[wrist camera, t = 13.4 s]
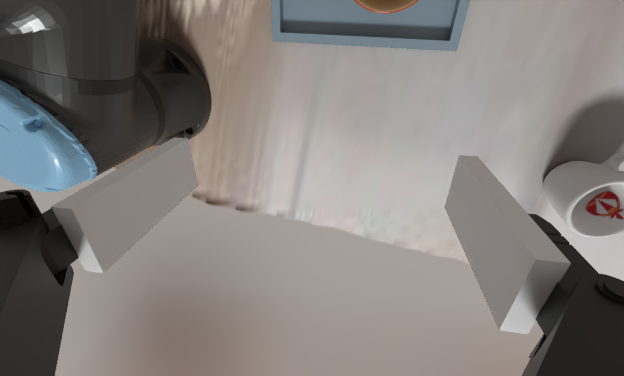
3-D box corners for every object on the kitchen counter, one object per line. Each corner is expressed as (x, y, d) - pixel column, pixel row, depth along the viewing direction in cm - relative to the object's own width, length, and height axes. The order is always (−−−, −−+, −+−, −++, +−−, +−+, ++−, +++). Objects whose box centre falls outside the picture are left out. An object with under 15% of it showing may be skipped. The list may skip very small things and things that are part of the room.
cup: (591, 123, 36) (644, 146, 29) (639, 155, 36) (702, 184, 29) (520, 187, 41) (550, 218, 34) (563, 213, 42) (602, 249, 35)
